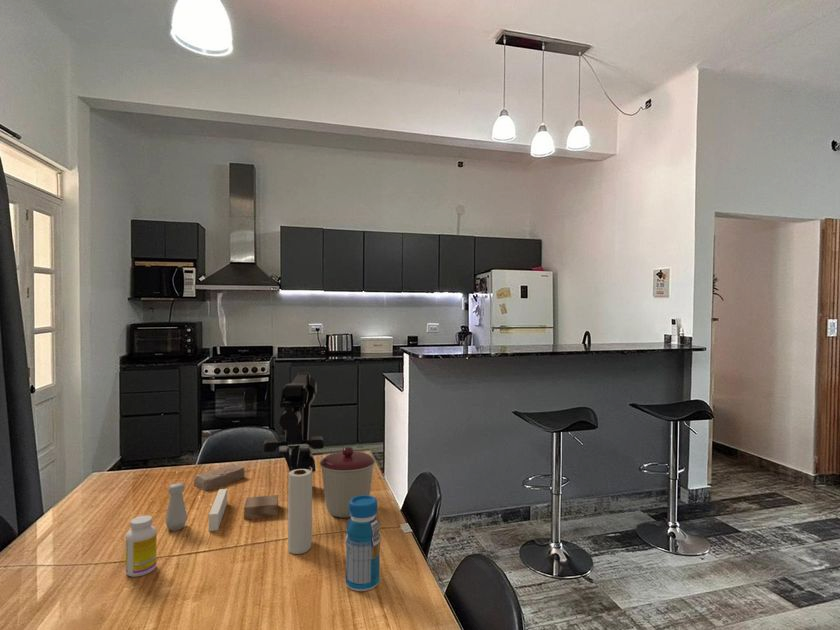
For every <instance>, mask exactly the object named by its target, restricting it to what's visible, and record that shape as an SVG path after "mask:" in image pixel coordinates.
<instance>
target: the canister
mask: <svg viewBox="0 0 840 630" xmlns="http://www.w3.org/2000/svg"><path fill="white" fill-rule="evenodd" d="M376 463H377V462H376V458H374V457H373V456H372V455H370V454H368V453H365V452H362V451H357V450H354V448H353V447H351V446H345V447H344V448H343V449H342V451H338V452H334V453H330V454H328V455H326V456H325V457H324V458H322V459H321V460H320V461H319V466H320V468H321V470H322V471H321V472H322V484H323V492H324V500H325V507H326V510H327V512H328V513H329V515H332V516H334V517H336V518H340V519H342V518H344V519H345V518H347V519H348V518H351V516H350V513H349V503H350V500H351V499H352V498H353V497H356V496H361V495H369V496H371V490H372V480H373V471H374V465H376Z"/></svg>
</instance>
